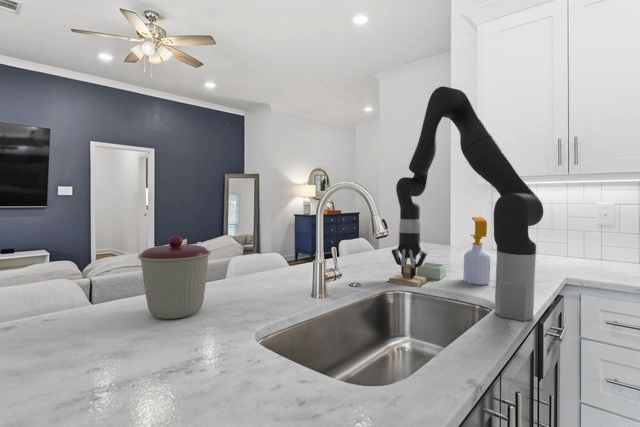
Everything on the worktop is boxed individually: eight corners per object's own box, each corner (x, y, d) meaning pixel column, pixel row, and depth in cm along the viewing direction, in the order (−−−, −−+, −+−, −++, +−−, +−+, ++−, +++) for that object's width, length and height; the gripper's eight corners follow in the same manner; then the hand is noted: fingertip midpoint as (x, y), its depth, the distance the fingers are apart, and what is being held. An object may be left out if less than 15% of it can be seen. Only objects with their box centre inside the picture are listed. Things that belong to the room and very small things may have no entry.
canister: (142, 331, 81) (140, 242, 80) (136, 309, 96) (134, 234, 95) (219, 317, 90) (218, 237, 89) (202, 299, 106) (202, 231, 105)
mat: (420, 288, 120) (420, 287, 120) (385, 283, 127) (385, 281, 127) (430, 281, 131) (430, 280, 131) (398, 276, 138) (398, 275, 138)
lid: (418, 286, 121) (418, 269, 121) (388, 281, 127) (389, 265, 127) (427, 280, 130) (427, 264, 130) (399, 276, 137) (400, 261, 136)
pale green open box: (439, 281, 130) (440, 268, 130) (416, 278, 135) (416, 265, 135) (446, 276, 138) (446, 264, 137) (423, 273, 143) (423, 261, 143)
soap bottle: (483, 279, 134) (485, 216, 132) (493, 285, 125) (496, 218, 123) (459, 279, 134) (461, 216, 133) (468, 285, 125) (470, 217, 124)
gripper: (387, 230, 129) (387, 276, 130) (425, 233, 121) (423, 281, 122) (395, 229, 135) (394, 272, 136) (431, 231, 127) (430, 277, 128)
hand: (408, 276), depth 129 cm, fingers closed on lid, 2 cm apart
